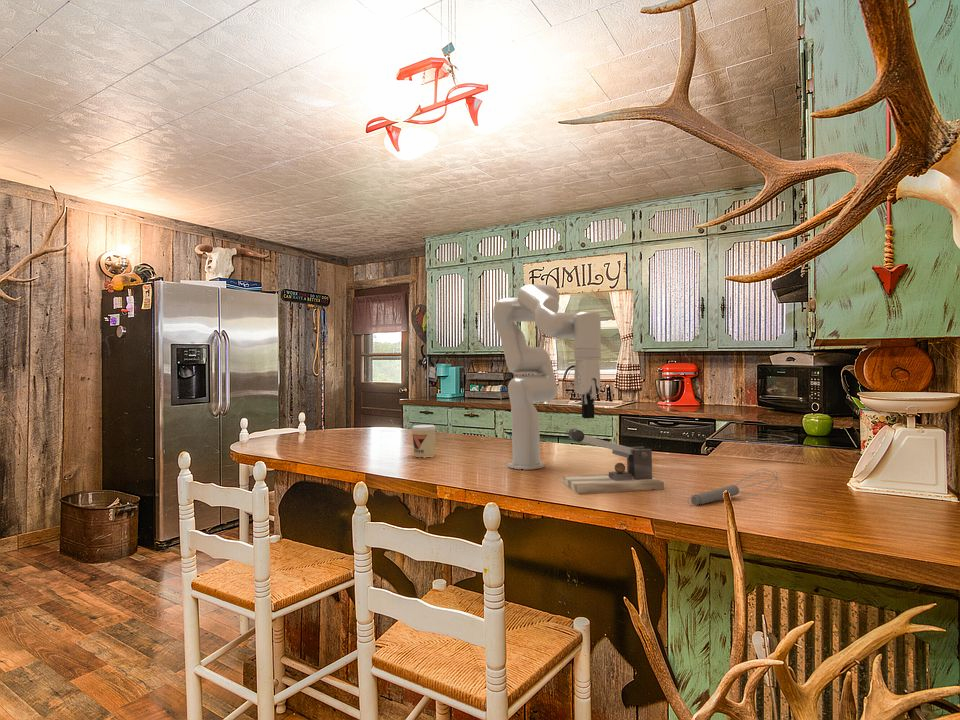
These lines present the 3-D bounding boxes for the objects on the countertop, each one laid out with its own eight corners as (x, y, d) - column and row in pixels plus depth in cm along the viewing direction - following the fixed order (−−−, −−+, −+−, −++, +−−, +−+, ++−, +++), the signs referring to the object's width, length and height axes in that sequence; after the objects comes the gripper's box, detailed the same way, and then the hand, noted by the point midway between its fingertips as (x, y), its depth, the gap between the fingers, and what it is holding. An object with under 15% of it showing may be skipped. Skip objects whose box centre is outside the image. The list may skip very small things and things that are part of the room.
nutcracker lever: (566, 440, 159) (569, 427, 159) (637, 459, 162) (640, 446, 162) (571, 443, 154) (575, 429, 154) (644, 462, 157) (648, 449, 157)
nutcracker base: (563, 482, 163) (562, 447, 163) (642, 478, 167) (641, 444, 167) (578, 494, 149) (577, 455, 149) (664, 488, 153) (663, 451, 153)
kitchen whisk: (678, 504, 138) (678, 479, 138) (766, 488, 153) (766, 466, 153) (698, 510, 132) (697, 484, 132) (787, 493, 147) (787, 470, 147)
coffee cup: (407, 457, 213) (406, 426, 213) (424, 453, 221) (424, 424, 221) (424, 459, 207) (423, 428, 207) (441, 455, 214) (440, 425, 214)
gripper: (567, 354, 164) (567, 415, 164) (583, 355, 149) (584, 421, 150) (591, 354, 165) (591, 414, 166) (609, 354, 150) (610, 420, 151)
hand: (588, 417), depth 158 cm, fingers closed
